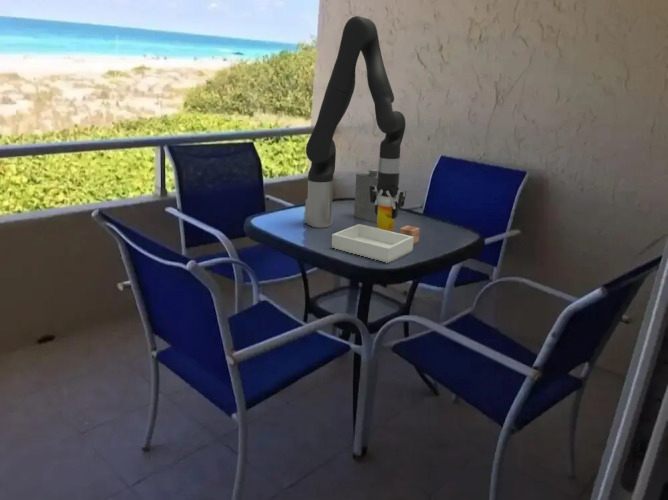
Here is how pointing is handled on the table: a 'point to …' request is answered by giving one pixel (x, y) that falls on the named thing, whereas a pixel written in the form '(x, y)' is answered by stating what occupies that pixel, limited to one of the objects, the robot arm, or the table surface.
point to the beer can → (385, 214)
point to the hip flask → (365, 195)
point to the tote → (373, 243)
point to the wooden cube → (411, 232)
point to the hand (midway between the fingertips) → (385, 216)
